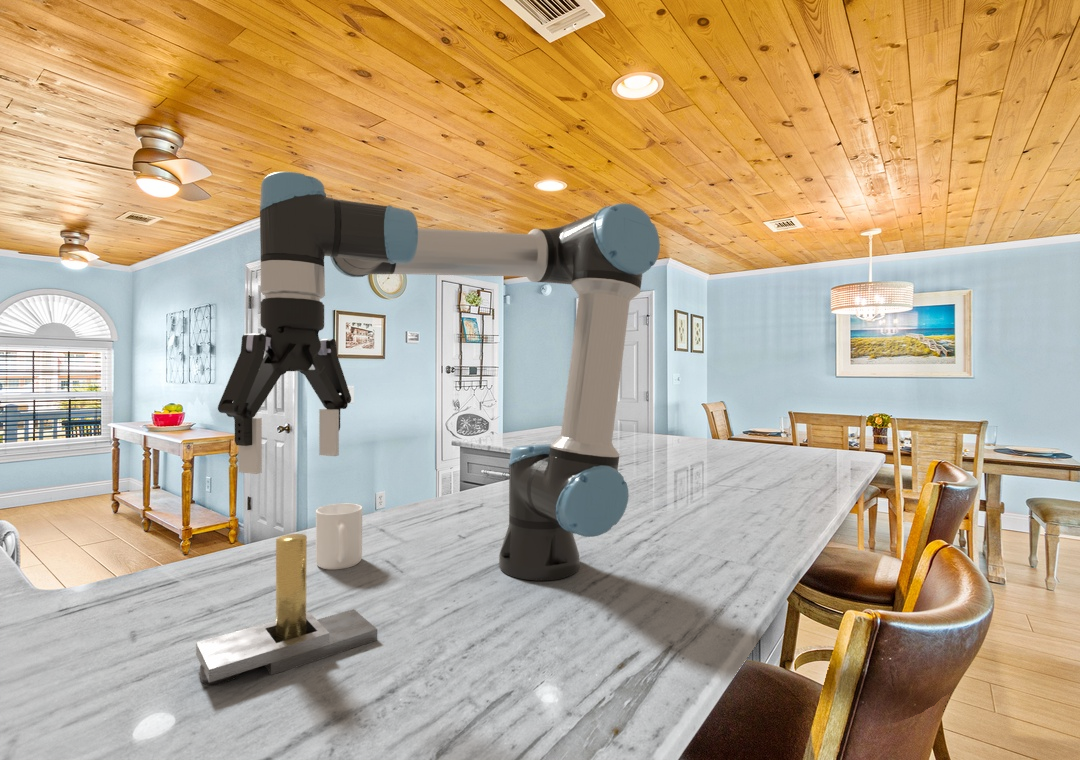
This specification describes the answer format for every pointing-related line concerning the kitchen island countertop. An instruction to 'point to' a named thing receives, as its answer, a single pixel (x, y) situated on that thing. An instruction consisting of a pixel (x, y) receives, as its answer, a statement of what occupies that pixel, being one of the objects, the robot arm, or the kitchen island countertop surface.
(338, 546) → the mug
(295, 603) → the pin
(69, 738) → the kitchen island countertop surface
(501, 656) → the kitchen island countertop surface
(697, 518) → the kitchen island countertop surface
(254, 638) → the slotted metal plate
